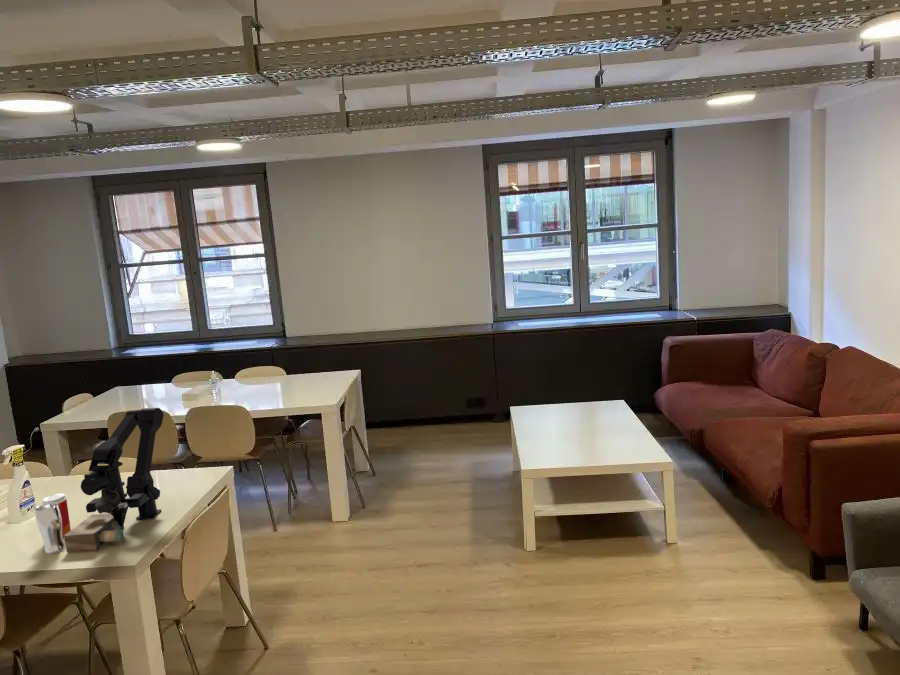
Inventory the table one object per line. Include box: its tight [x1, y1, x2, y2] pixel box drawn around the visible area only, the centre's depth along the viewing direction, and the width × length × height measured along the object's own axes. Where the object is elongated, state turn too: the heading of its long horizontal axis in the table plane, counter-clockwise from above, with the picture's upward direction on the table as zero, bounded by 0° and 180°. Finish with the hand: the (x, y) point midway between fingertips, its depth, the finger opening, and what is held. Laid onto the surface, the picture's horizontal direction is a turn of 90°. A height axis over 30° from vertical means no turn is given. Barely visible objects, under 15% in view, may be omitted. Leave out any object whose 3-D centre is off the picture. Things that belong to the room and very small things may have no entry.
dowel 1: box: [98, 529, 125, 543], centre depth 222 cm, size 4×9×4 cm, turn 86°
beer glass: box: [34, 503, 66, 555], centre depth 221 cm, size 7×7×15 cm
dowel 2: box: [112, 520, 121, 530], centre depth 230 cm, size 4×9×4 cm, turn 86°
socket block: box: [63, 512, 125, 554], centre depth 226 cm, size 16×10×6 cm, turn 176°
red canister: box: [41, 492, 72, 539], centre depth 233 cm, size 8×8×14 cm
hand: (122, 526), depth 230 cm, fingers closed
